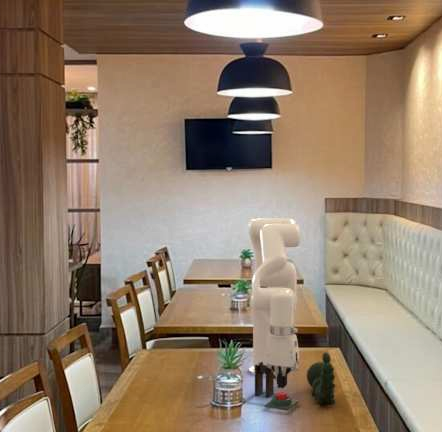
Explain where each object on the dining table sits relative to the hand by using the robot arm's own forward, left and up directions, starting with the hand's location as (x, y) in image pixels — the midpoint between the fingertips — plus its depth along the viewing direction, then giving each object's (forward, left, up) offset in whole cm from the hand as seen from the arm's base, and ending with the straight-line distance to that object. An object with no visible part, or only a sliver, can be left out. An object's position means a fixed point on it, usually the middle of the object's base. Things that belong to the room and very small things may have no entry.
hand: (281, 386), depth 214 cm
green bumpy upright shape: (-14, +9, -7) cm, 18 cm away
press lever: (-10, -9, 0) cm, 13 cm away
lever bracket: (-6, -9, -7) cm, 13 cm away
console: (0, 0, -7) cm, 7 cm away
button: (0, 0, -4) cm, 4 cm away
